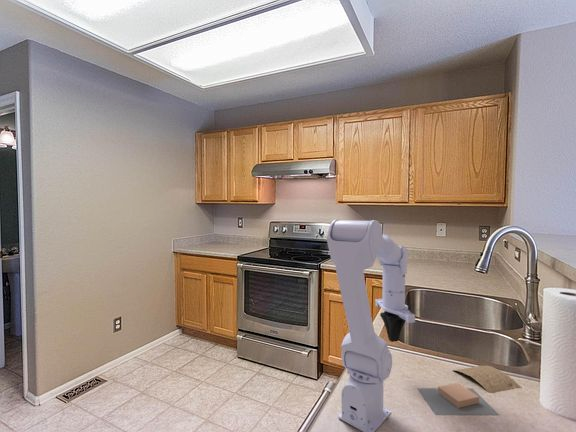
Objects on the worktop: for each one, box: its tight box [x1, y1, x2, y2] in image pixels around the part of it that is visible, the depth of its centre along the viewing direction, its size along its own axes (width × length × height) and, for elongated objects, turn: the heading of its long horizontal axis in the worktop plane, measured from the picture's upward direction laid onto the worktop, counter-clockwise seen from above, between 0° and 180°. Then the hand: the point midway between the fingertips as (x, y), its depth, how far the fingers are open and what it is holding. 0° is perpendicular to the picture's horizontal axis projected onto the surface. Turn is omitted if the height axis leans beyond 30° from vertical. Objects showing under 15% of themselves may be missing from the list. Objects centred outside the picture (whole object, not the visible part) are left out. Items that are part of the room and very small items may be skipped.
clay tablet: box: [451, 365, 522, 394], centre depth 82 cm, size 14×10×3 cm
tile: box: [437, 382, 479, 408], centre depth 73 cm, size 6×2×6 cm
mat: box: [416, 387, 500, 416], centre depth 72 cm, size 14×10×1 cm
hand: (393, 340), depth 82 cm, fingers closed
